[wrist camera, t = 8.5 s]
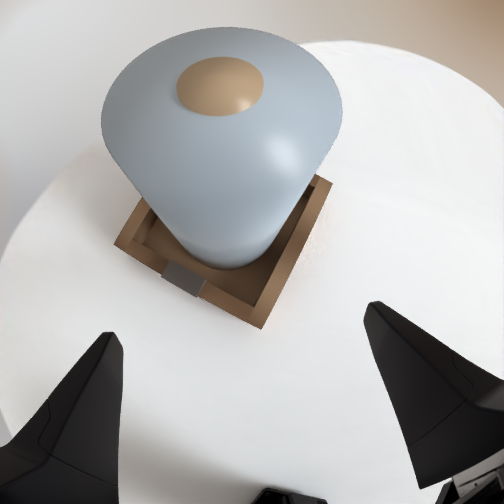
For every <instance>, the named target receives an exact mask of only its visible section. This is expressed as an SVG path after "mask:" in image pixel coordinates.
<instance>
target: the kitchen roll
mask: <svg viewBox="0 0 504 504" xmlns="http://www.w3.org/2000/svg"><path fill="white" fill-rule="evenodd" d="M342 113H343V111H342V101H341V97H340V93H339V90H338V88H337V86H336V83H335V81H334V79H333V78H332V76H331V75H330V73H329V72H328V70H327V69H326V68H325V67H324V66H323V65H322V64H321V62H319V61H318V60H317V59H316V58H315V57H314V56H313V55H312V54H310V53H309V52H307V51H306V50H305V49H303V48H302V47H300V46H298V45H296V44H295V43H293V42H291V41H289V40H287V39H284V38H282V37H279V36H276V35H274V34H271V33H267V32H263V31H259V30H253V29H247V28H236V27H218V28H207V29H201V30H195V31H191V32H187V33H184V34H180V35H177V36H175V37H172V38H169V39H167V40H165V41H162V42H160V43H158V44H156V45H155V46H153V47H151V48H149V49H148V50H146V51H145V52H143V53H142V54H140V55H139V56H138V57H137V58H135V59H134V60H133V61H132V62H131V63H129V65H127V67H126V68H125V69H124V70H123V71H122V72H121V73H120V74H119V76H118V77H117V78H116V80H115V81H114V83H113V84H112V86H111V88H110V89H109V91H108V94H107V97H106V99H105V102H104V105H103V110H102V116H101V127H102V135H103V138H104V141H105V144H106V147H107V149H108V150H109V152H110V154H111V156H112V157H113V159H114V160H115V161H116V163H117V164H118V165H119V167H120V168H121V169H122V171H123V172H124V173H125V175H126V176H127V177H128V179H129V180H130V181H131V182H132V184H133V185H134V186H135V188H136V189H137V190H138V192H139V193H140V194H141V195H142V197H143V198H144V199H145V200H146V202H147V203H148V204H149V206H150V207H151V208H152V209H153V211H154V212H155V213H156V214H157V216H158V217H159V218H160V219H161V221H162V222H163V223H164V224H165V225H166V227H167V228H168V229H169V230H170V232H171V233H172V234H173V235H174V236H175V238H176V239H177V240H178V241H179V242H180V244H181V245H182V246H183V247H184V248H185V250H186V251H187V252H188V253H189V254H190V255H191V256H192V257H193V258H194V259H195V260H196V261H198V262H199V263H201V264H202V265H204V266H207V267H209V268H212V269H216V270H225V271H230V270H237V269H241V268H244V267H246V266H249V265H251V264H252V263H254V262H256V261H257V260H258V259H259V258H261V257H262V256H263V255H264V254H265V252H266V251H267V250H268V248H269V247H270V245H271V244H272V242H273V240H274V239H275V237H276V236H277V234H278V232H279V231H280V229H281V228H282V226H283V224H284V223H285V221H286V220H287V218H288V216H289V215H290V213H291V212H292V210H293V208H294V207H295V205H296V204H297V202H298V200H299V199H300V197H301V195H302V194H303V192H304V191H305V189H306V187H307V186H308V184H309V183H310V181H311V179H312V178H313V176H314V174H315V173H316V171H317V170H318V168H319V166H320V165H321V163H322V161H323V160H324V158H325V156H326V155H327V153H328V152H329V150H330V148H331V147H332V145H333V143H334V141H335V139H336V137H337V135H338V133H339V129H340V126H341V122H342Z"/></svg>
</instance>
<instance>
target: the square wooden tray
mask: <svg viewBox="0 0 504 504" xmlns="http://www.w3.org/2000/svg"><path fill="white" fill-rule="evenodd" d="M332 184H333V183H331V182H329V181H327V180H326V179H324V178H322V177H320V176H318V175H316V174H314V176H313V178H312V179H311V181H310V183H309V184H308V186H307V187H306V189H305V191H304V192H303V194H302V195H301V197H300V199H299V200H298V202H297V204H296V205H295V207H294V208H293V210H292V212H291V213H290V215H289V216H288V218H287V220H286V221H285V223H284V224H283V226H282V228H281V229H280V231H279V232H278V234H277V236H276V237H275V239H274V240H273V242H272V244H271V245H270V247H269V248H268V250H267V251H266V252H265V254H264V255H263V256H262V257H261V258H259V259H258V260H257V261H256V262H254V263H252V264H251V265H249V266H246V267H244V268H241V269H237V270H230V271H225V270H216V269H212V268H209V267H207V266H204V265H202V264H201V263H199V262H198V261H196V260H195V259H194V258H193V257H192V256H191V255H190V254H189V253H188V252H187V251H186V250H185V248H184V247H183V246H182V245H181V244H180V242H179V241H178V240H177V239H176V238H175V236H174V235H173V234H172V233H171V232H170V230H169V229H168V228H167V227H166V225H165V224H164V223H163V222H162V221H161V219H160V218H159V217H158V216H157V214H156V213H155V212H154V211H153V209H152V208H151V207H150V206H149V204H148V203H147V202H146V200H145V199H144V198H143V197H142V198H141V200H140V201H139V203H138V205H137V206H136V208H135V209H134V211H133V213H132V214H131V216H130V217H129V219H128V221H127V222H126V224H125V226H124V227H123V229H122V231H121V232H120V234H119V236H118V238H117V239H116V241H115V243H114V245H115V246H117V247H118V248H120V249H121V250H123V251H124V252H126V253H127V254H129V255H131V256H132V257H134V258H135V259H137V260H138V261H140V262H142V263H143V264H145V265H147V266H148V267H150V268H151V269H153V270H155V271H156V272H158V273H160V274H161V275H162V276H161V277H162V278H164V279H166V280H167V281H169V282H171V283H172V284H174V285H176V286H177V287H179V288H181V289H183V290H184V291H186V292H188V293H190V294H191V295H193V296H195V297H198V296H199V297H201V298H203V299H204V300H206V301H208V302H210V303H212V304H213V305H215V306H217V307H219V308H221V309H223V310H225V311H226V312H228V313H230V314H232V315H234V316H236V317H238V318H240V319H241V320H243V321H245V322H247V323H249V324H251V325H253V326H255V327H257V328H259V329H262V328H263V326H264V324H265V322H266V320H267V318H268V316H269V314H270V312H271V310H272V309H273V307H274V305H275V303H276V301H277V299H278V297H279V295H280V293H281V291H282V289H283V287H284V285H285V283H286V281H287V279H288V277H289V275H290V273H291V271H292V269H293V267H294V265H295V263H296V261H297V259H298V257H299V255H300V253H301V251H302V249H303V247H304V245H305V243H306V241H307V238H308V236H309V234H310V232H311V230H312V228H313V226H314V224H315V222H316V219H317V217H318V215H319V213H320V211H321V209H322V206H323V204H324V202H325V200H326V198H327V195H328V193H329V191H330V189H331V187H332Z"/></svg>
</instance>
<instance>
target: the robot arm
mask: <svg viewBox="0 0 504 504" xmlns="http://www.w3.org/2000/svg"><path fill="white" fill-rule="evenodd" d="M363 321H364V326H365V329H366V333H367V336H368V339H369V342H370V346H371V349H372V353H373V356H374V359H375V362H376V364H377V367H378V369H379V371H380V374H381V376H382V379H383V381H384V384H385V387H386V389H387V392H388V394H389V397H390V400H391V402H392V405H393V408H394V410H395V413H396V416H397V419H398V422H399V424H400V427H401V430H402V433H403V436H404V439H405V442H406V445H407V448H408V452H409V455H410V458H411V462H412V465H413V468H414V472H415V475H416V479H417V482H418V486H419V488H420V489H423V488H426V487H429V486H431V485H434V484H436V483H439V482H441V481H443V480H446V479H448V478H450V477H452V480H450V481H449V482H447V483H446V484H444V485H443V487H442V490H441V492H440V494H439V496H438V499H437V501H436V503H435V504H504V380H502V379H500V378H498V377H496V376H494V375H492V374H491V373H489V372H487V371H485V370H484V369H482V368H480V367H478V366H477V365H475V364H473V363H472V362H470V361H468V360H467V359H465V358H464V357H462V356H461V355H459V354H458V353H457V352H455V351H454V350H452V349H450V348H449V347H448V346H446V345H445V344H443V343H442V342H441V341H439V340H438V339H436V338H435V337H433V336H432V335H430V334H429V333H427V332H426V331H424V330H423V329H421V328H420V327H418V326H417V325H415V324H414V323H412V322H411V321H409V320H408V319H406V318H405V317H403V316H402V315H400V314H399V313H397V312H396V311H394V310H393V309H391V308H390V307H388V306H387V305H385V304H384V303H382V302H380V301H374V302H370V303H369V304H368V306H367V309H366V312H365V316H364V320H363ZM122 391H123V347H122V345H121V343H120V341H119V340H118V338H117V336H116V334H115V333H114V332H103V333H102V334H101V335H100V336H99V337H98V338H97V339H96V341H95V342H94V343H93V344H92V345H91V346H90V347H89V349H88V350H87V351H86V352H85V353H84V354H83V356H82V357H81V358H80V359H79V360H78V361H77V363H76V364H75V365H74V366H73V367H72V369H71V370H70V371H69V372H68V373H67V375H66V376H65V377H64V378H63V379H62V381H61V382H60V383H59V384H58V386H57V387H56V388H55V389H54V391H53V392H52V393H51V394H50V396H49V397H48V399H46V401H45V402H44V403H43V405H42V406H41V407H40V408H39V409H38V411H37V412H36V413H35V414H34V416H33V417H32V418H31V419H30V420H29V421H28V422H27V423H26V425H25V426H24V427H23V428H22V429H21V430H20V431H19V432H18V433H17V434H16V436H15V437H14V438H13V439H12V440H11V441H10V442H9V443H8V444H6V445H5V446H3V447H0V504H119V495H118V446H119V427H120V413H121V402H122ZM266 493H269V494H266ZM251 504H328V503H327V501H326V500H324V499H317V498H314V497H310V496H304V495H299V494H295V493H287V492H283V491H279V490H275V489H271V488H266V489H264V490H262V492H261V493H260V494H259V495H258V496H257V498H256V499H255V500H254V501H253V502H252V503H251Z"/></svg>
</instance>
